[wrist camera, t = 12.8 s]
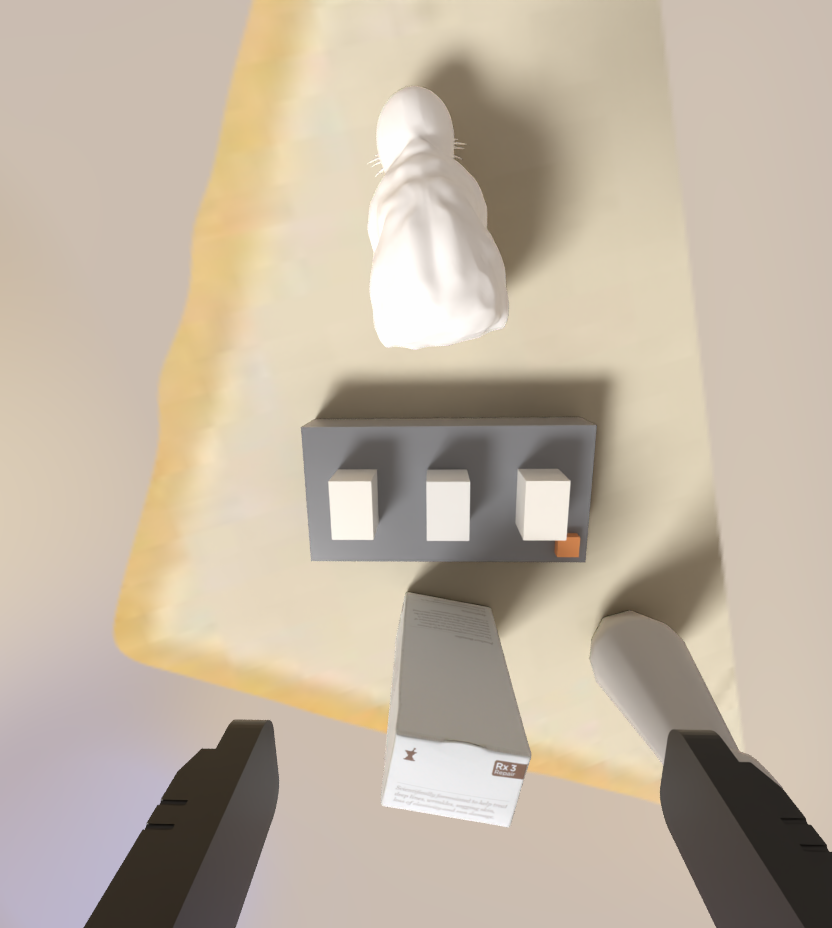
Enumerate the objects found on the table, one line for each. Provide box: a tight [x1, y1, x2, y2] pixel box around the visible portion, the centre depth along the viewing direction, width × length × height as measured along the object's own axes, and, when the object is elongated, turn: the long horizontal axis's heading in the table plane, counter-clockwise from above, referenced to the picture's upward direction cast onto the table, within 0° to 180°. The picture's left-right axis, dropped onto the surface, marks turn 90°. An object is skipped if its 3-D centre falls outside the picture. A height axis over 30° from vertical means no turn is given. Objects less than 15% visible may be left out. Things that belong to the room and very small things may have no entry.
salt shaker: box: [590, 610, 783, 789], centre depth 25 cm, size 6×6×13 cm
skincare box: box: [381, 592, 531, 827], centre depth 26 cm, size 6×4×12 cm
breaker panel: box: [301, 417, 597, 562], centre depth 26 cm, size 8×16×5 cm, turn 91°
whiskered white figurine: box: [368, 86, 509, 350], centre depth 22 cm, size 6×8×12 cm
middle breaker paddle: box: [426, 469, 470, 541], centre depth 25 cm, size 3×2×2 cm
